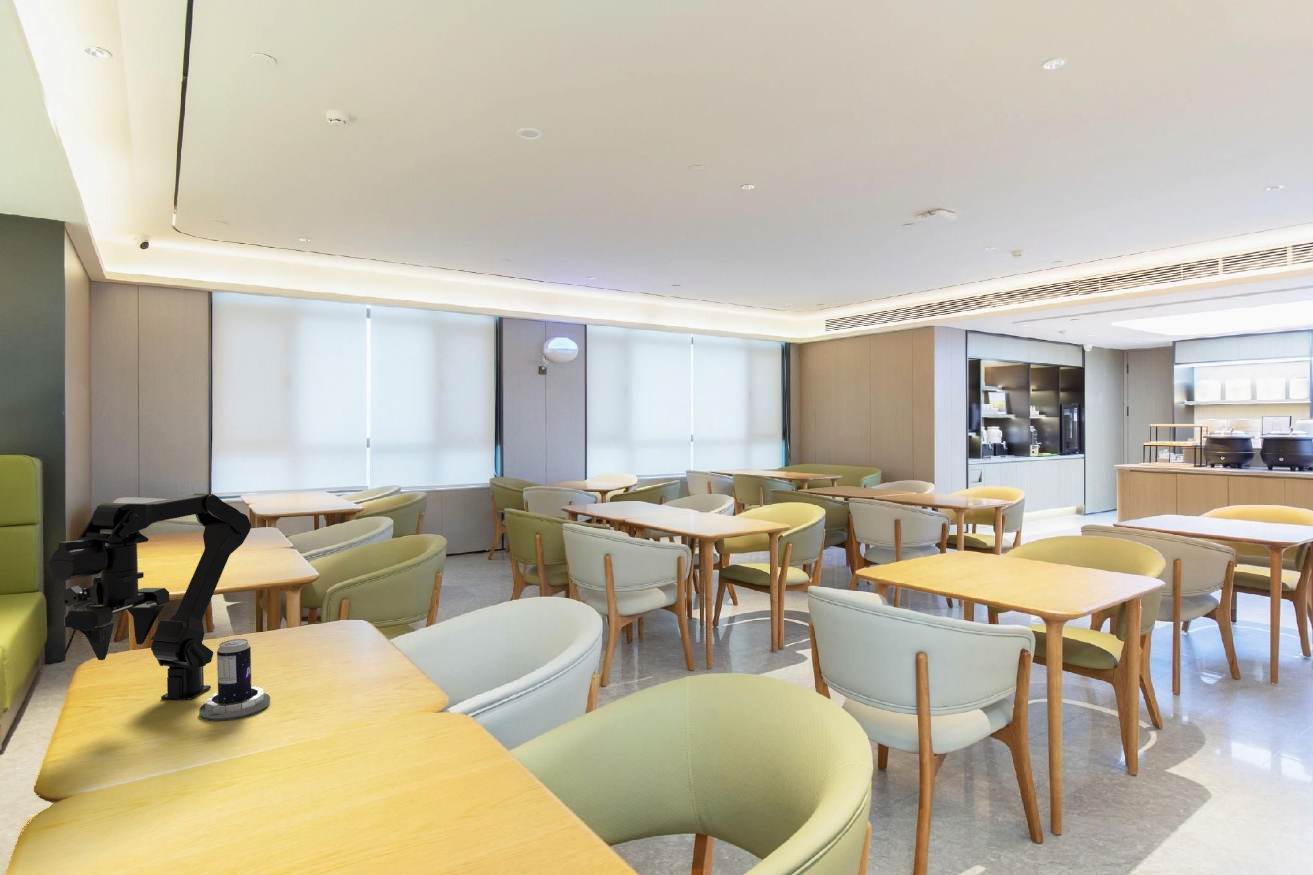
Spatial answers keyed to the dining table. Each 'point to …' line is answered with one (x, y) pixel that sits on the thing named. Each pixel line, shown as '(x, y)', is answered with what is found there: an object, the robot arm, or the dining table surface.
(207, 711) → the collar base
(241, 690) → the beverage can
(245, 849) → the dining table surface
